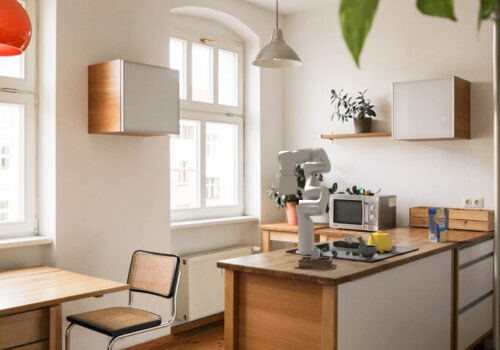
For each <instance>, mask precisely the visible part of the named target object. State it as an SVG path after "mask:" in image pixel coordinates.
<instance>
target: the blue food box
mask: <svg viewBox="0 0 500 350" xmlns="http://www.w3.org/2000/svg"><path fill="white" fill-rule="evenodd" d="M427 213H428V216H427V217H428V242H433V243H441V242H447V241H448V208H447V207H431V208H428V212H427Z"/></svg>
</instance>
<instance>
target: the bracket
mask: <svg viewBox="0 0 500 350" xmlns="http://www.w3.org/2000/svg"><path fill="white" fill-rule="evenodd" d="M358 237H359V236H358V235H355V234H354V233H347V234H346V235H345V237H344V241H345V242H347V243H348V244H349V245H351V244H353V240H352V239H353V238H354V239H355V240H358V239H357V238H358ZM362 239H363V241H364V242H365V244H366V243H367V244H368V239H366V238H363V237H362Z"/></svg>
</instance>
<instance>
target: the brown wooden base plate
mask: <svg viewBox="0 0 500 350" xmlns="http://www.w3.org/2000/svg"><path fill="white" fill-rule="evenodd" d="M336 267H337V263H333V257H332V256H331V257H330V256H320V260H311V256H301V257H300V258H299V259H298V263H296V265H295V266H294V269H301V270H302V269H307V270H308V269H309V270H310V269H311V270H314V269H315V270H335V269H336Z"/></svg>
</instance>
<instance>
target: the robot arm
mask: <svg viewBox="0 0 500 350" xmlns="http://www.w3.org/2000/svg"><path fill="white" fill-rule="evenodd" d="M277 162H278V164H280V176H279V181H278V187H275V188H274V189H272V193H273V195H274V196H275V197H276V198H277V205H278V206H281V205H282V198H281V197H282V195H294V196H296V198H295V202H296V203H295V210H296V211H295V212H296V215H297V216H296V217H297V240H298V241H297V242H298V243H297V245H298V246H297V247H298V249H297V250H295V254H297V255H302V256H304V255H305V256H309V255H310V256H311V249H314V248H315V223H314V221H313V219H312V218H311V217H322V216H324V215H325V213H326V211H327V207H328V202H329V199H330V191H329V188H328V187H327V186H325V185H320V184H321V183H320V179H318V177H317V176H316V174H317V175H318V174H329V173H330V172H331V170H332V164H331V161H330V158H329V156H328V153H327V152H326V150H325V149H324V148H322V147H307V148H298V149H292V150H283V151H280V152H279V153H278V154H277ZM301 164H303V173H304V177H305V185H304V187H303V188H302V187H299V186H298V184H299V183H298V179H297V176H296V175H298V171H296V167H295V166H296V165H301ZM277 191H278V193H277ZM299 191H300V193H299ZM301 197H302V199H301V200H300V198H301Z"/></svg>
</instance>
